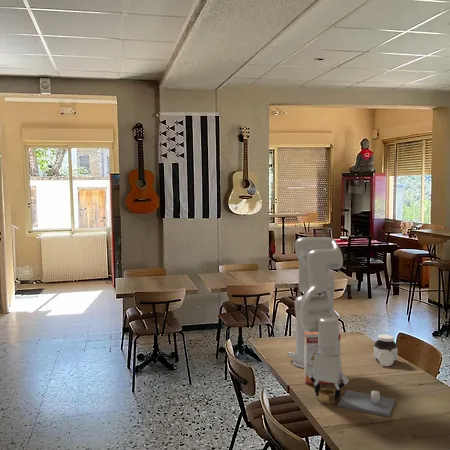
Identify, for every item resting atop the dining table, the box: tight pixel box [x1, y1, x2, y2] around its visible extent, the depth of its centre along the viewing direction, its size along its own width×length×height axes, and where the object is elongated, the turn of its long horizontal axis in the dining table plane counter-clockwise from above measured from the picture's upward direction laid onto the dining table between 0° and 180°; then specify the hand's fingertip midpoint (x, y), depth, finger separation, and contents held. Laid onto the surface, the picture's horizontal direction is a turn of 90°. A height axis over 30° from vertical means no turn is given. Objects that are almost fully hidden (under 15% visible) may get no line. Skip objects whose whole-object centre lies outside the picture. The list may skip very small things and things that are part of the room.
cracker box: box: [303, 331, 341, 385], centre depth 196 cm, size 14×6×21 cm, turn 90°
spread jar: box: [373, 334, 399, 367], centre depth 219 cm, size 12×11×12 cm
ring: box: [317, 387, 338, 404], centre depth 179 cm, size 7×7×3 cm
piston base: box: [337, 389, 396, 418], centre depth 175 cm, size 18×14×5 cm
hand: (327, 396), depth 179 cm, fingers closed on ring, 6 cm apart
